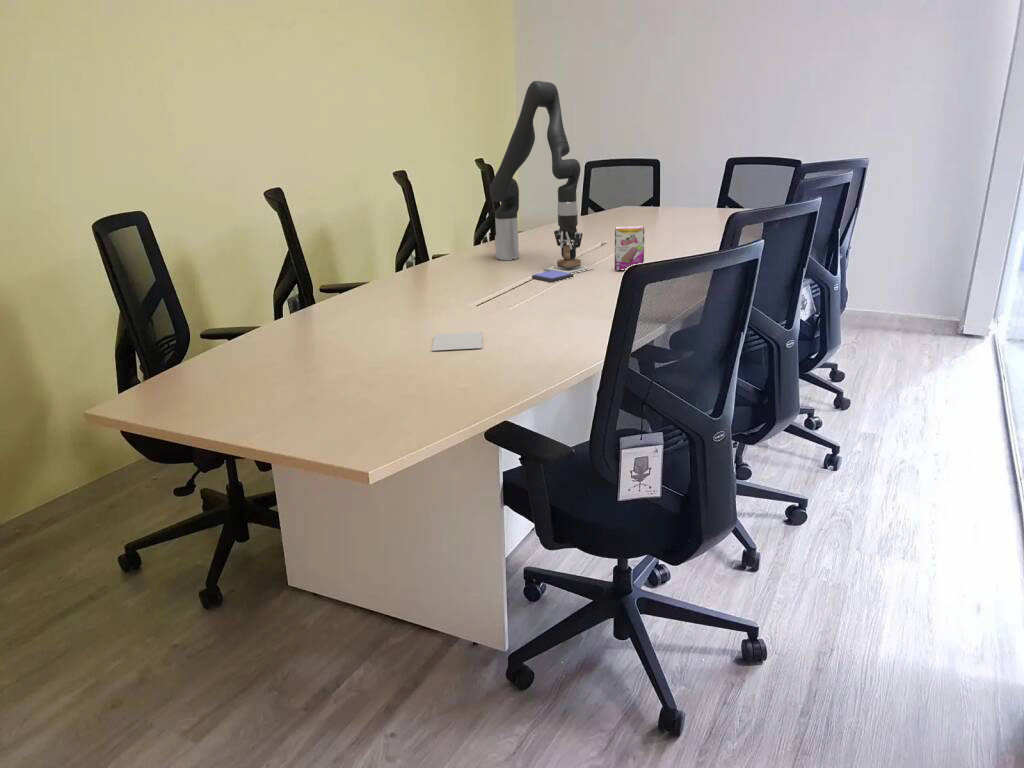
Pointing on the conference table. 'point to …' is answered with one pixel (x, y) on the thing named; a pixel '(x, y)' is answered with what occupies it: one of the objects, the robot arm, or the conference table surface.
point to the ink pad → (552, 276)
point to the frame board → (566, 270)
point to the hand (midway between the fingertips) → (568, 257)
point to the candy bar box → (628, 246)
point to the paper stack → (457, 341)
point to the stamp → (568, 259)
